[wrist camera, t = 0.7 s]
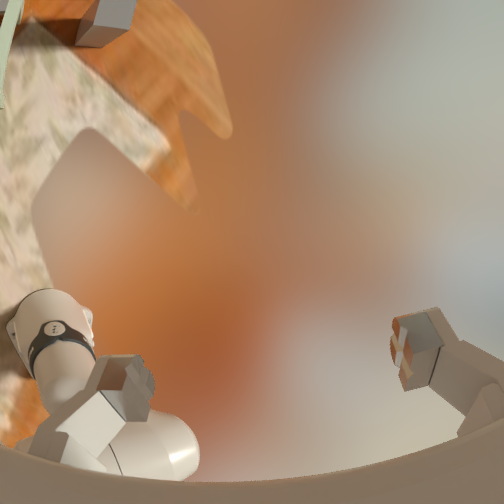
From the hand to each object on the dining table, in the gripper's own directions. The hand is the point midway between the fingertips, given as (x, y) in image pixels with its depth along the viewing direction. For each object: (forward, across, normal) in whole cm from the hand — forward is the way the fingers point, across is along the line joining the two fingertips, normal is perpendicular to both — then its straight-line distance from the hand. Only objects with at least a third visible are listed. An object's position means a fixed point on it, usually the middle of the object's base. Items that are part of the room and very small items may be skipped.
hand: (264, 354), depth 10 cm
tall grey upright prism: (+43, -22, +24) cm, 54 cm away
